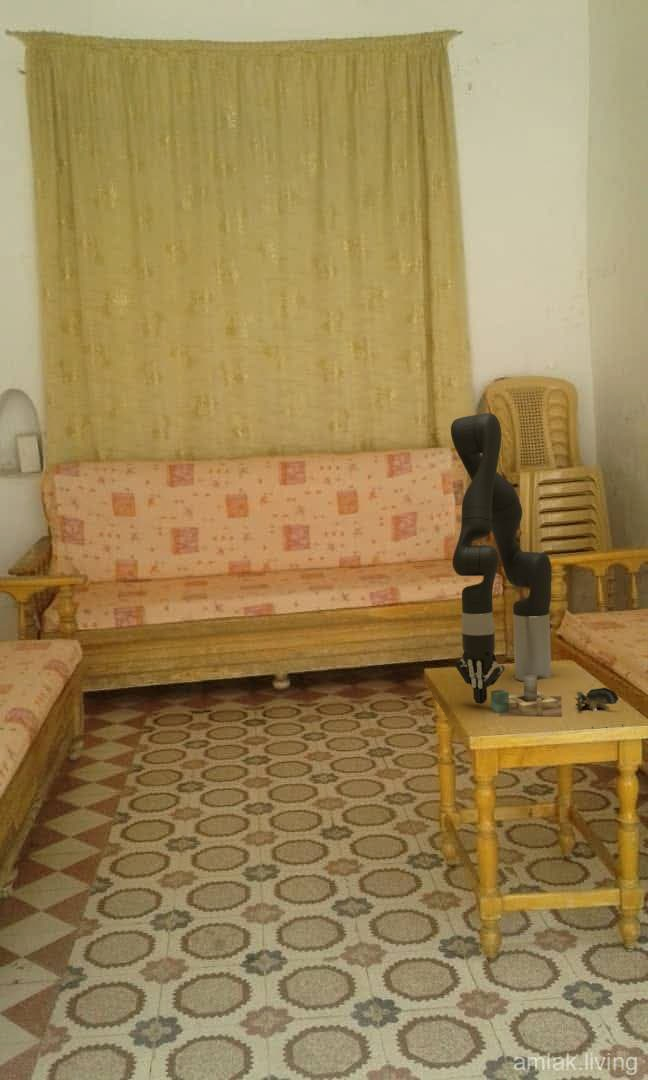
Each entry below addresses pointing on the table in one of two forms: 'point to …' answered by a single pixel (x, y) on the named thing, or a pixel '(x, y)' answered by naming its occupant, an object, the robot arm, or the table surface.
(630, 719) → the table surface
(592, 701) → the brown squirrel figurine
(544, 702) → the square frame with handle
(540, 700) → the dowel pin
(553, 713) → the post board
